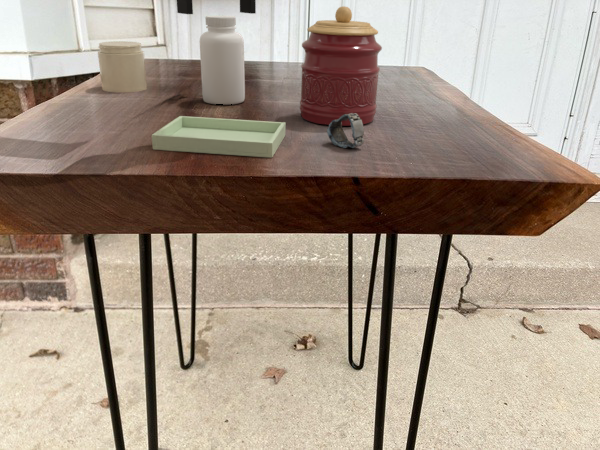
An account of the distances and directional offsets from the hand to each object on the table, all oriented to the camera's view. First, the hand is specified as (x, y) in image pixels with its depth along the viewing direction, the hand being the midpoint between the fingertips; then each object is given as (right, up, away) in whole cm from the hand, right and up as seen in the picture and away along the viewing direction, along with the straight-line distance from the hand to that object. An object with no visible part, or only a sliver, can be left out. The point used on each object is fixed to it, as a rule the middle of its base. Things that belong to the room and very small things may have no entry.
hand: (217, 13), depth 68 cm
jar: (-22, -4, +31) cm, 38 cm away
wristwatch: (+17, -16, +7) cm, 24 cm away
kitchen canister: (+17, -9, +22) cm, 30 cm away
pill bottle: (-4, -4, +32) cm, 32 cm away
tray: (0, -16, +7) cm, 17 cm away
